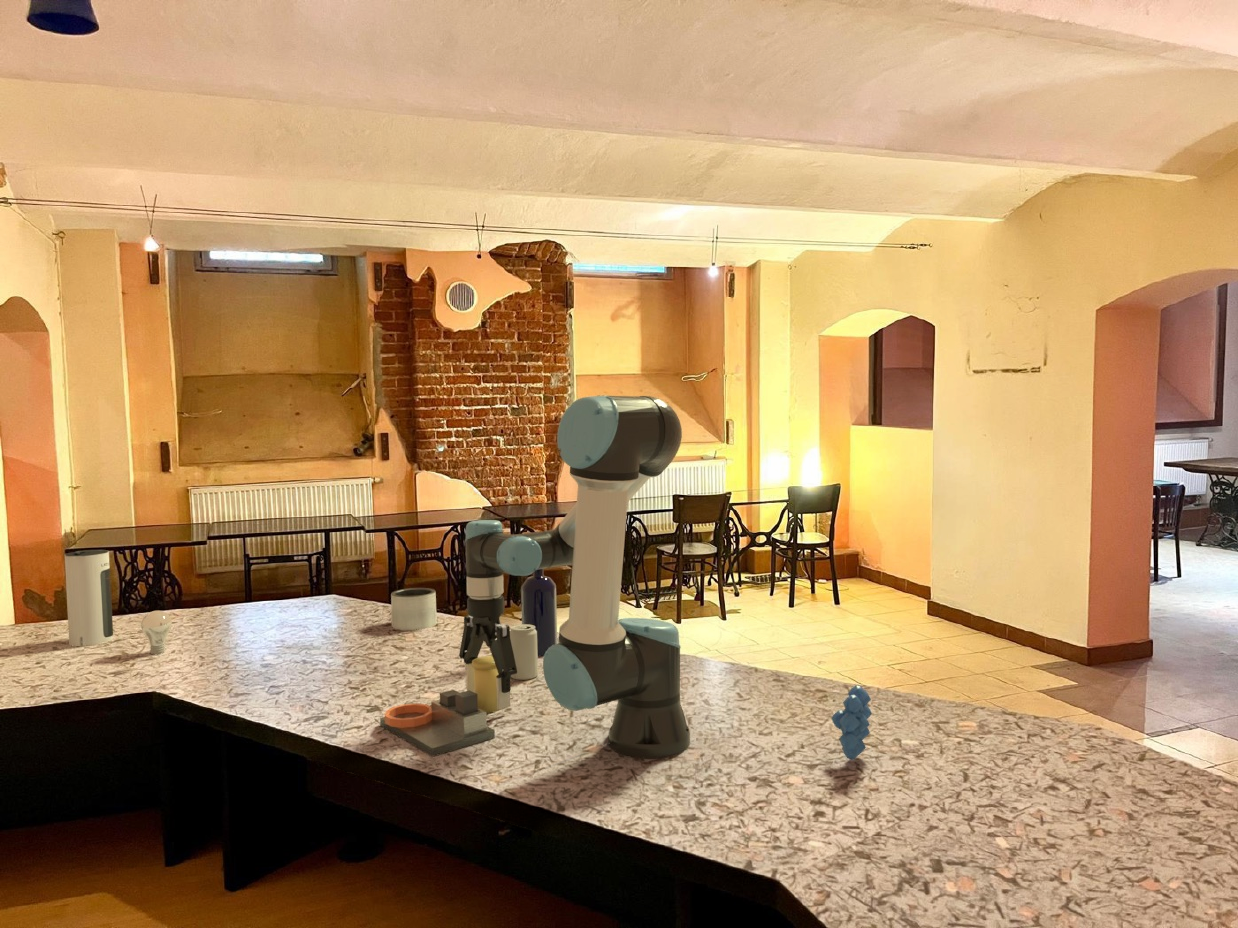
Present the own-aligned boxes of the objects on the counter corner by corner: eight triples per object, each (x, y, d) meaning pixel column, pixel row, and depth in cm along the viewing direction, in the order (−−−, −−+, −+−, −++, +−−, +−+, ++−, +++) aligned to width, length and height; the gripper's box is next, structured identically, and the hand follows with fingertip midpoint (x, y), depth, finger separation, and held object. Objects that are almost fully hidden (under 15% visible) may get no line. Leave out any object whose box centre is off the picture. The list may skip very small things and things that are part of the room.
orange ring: (441, 719, 166) (441, 711, 166) (398, 730, 160) (398, 723, 160) (419, 707, 173) (419, 700, 173) (377, 718, 167) (377, 711, 167)
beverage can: (533, 682, 193) (532, 630, 192) (506, 681, 194) (505, 629, 194) (541, 674, 199) (540, 623, 199) (515, 673, 201) (514, 622, 200)
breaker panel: (494, 737, 160) (494, 711, 160) (432, 756, 152) (431, 728, 151) (439, 709, 176) (438, 686, 176) (380, 725, 167) (379, 700, 167)
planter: (384, 635, 238) (383, 596, 238) (402, 624, 251) (401, 587, 250) (426, 636, 236) (425, 596, 235) (443, 625, 248) (442, 587, 248)
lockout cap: (509, 708, 176) (508, 660, 176) (483, 715, 172) (482, 666, 172) (492, 701, 181) (491, 654, 180) (467, 707, 177) (466, 660, 176)
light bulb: (178, 655, 221) (176, 609, 220) (151, 661, 215) (149, 614, 215) (163, 651, 225) (161, 606, 224) (137, 658, 219) (134, 611, 218)
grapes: (841, 739, 156) (841, 675, 156) (878, 746, 153) (878, 680, 152) (821, 761, 146) (820, 693, 146) (860, 769, 143) (860, 699, 142)
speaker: (98, 651, 226) (93, 553, 225) (59, 651, 227) (54, 554, 225) (121, 640, 237) (117, 547, 236) (84, 641, 237) (80, 548, 236)
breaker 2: (478, 717, 160) (477, 693, 160) (464, 721, 158) (463, 697, 158) (469, 713, 163) (469, 690, 162) (455, 717, 161) (455, 693, 160)
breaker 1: (461, 716, 165) (461, 693, 165) (448, 719, 163) (447, 696, 163) (454, 712, 167) (453, 689, 167) (440, 715, 165) (439, 693, 165)
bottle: (543, 662, 209) (541, 540, 208) (514, 657, 214) (511, 538, 213) (565, 653, 217) (563, 536, 216) (536, 648, 222) (534, 534, 220)
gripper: (533, 601, 169) (535, 710, 170) (471, 585, 187) (474, 683, 188) (501, 607, 164) (504, 719, 165) (440, 589, 182) (443, 691, 183)
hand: (488, 700), depth 176 cm, fingers open, 11 cm apart
